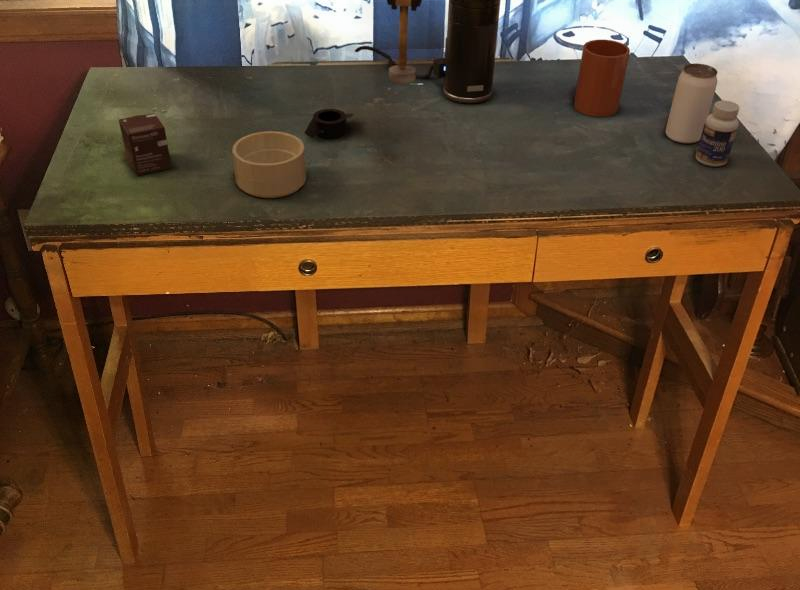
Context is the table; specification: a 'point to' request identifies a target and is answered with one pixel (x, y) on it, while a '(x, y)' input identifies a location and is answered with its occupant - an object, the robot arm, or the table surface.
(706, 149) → the pill bottle
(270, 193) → the bowl
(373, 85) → the table surface
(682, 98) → the can
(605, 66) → the crock
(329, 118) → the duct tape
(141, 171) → the box
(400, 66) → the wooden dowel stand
